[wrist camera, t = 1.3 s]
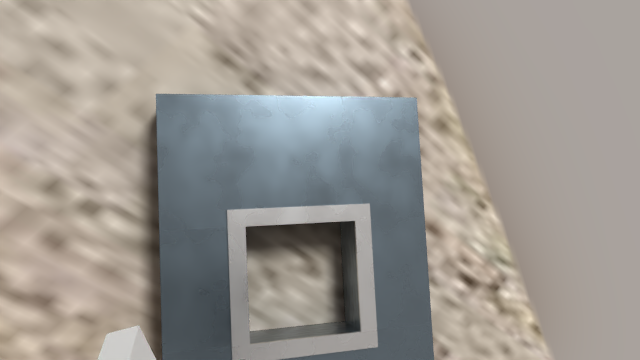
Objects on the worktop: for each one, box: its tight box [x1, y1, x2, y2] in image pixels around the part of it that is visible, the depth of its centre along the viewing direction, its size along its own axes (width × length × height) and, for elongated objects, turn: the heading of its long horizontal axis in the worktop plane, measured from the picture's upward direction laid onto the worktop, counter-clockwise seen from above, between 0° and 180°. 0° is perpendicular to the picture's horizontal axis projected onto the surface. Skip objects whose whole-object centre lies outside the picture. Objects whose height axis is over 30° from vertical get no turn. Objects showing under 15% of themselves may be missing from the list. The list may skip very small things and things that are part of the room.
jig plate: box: [156, 94, 434, 360], centre depth 29 cm, size 22×16×3 cm
